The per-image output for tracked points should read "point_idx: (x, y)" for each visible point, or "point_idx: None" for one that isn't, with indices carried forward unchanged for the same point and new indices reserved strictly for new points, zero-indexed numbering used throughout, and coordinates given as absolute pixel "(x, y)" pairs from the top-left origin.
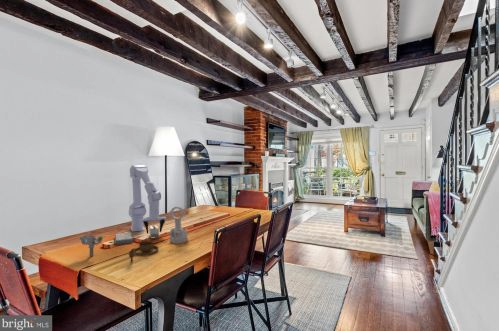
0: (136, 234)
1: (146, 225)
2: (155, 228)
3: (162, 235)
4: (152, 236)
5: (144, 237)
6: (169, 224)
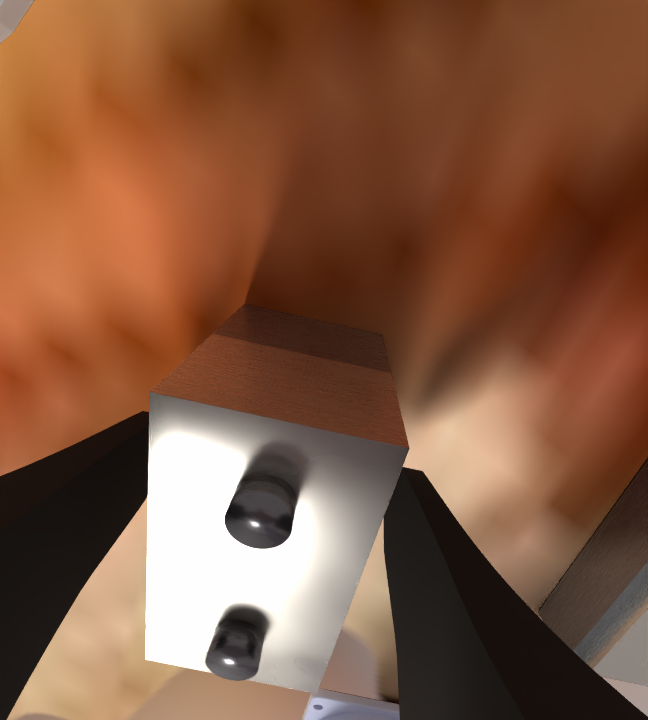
0: None
1: (567, 687)
2: (250, 451)
3: None
4: (356, 343)
5: (432, 465)
6: None
